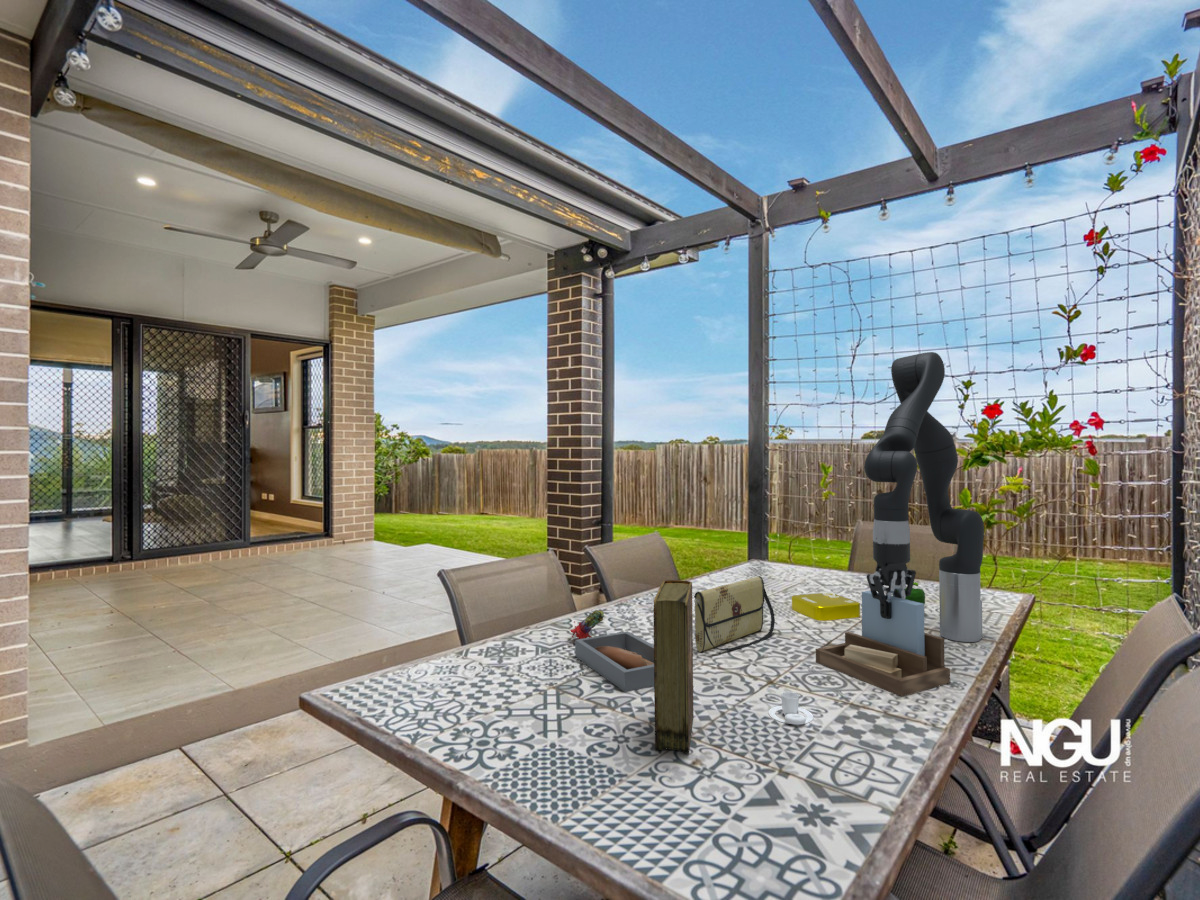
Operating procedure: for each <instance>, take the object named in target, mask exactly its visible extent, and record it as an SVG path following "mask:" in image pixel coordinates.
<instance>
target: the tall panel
mask: <svg viewBox="0 0 1200 900" xmlns="http://www.w3.org/2000/svg"><path fill="white" fill-rule="evenodd" d="M877 594H878V592H877ZM885 596H886V594H885ZM890 602H891V619H885V618H882V617H881V614H880V601H879V600H878V599H874V598H873V597H872V594H871V590H864V591H861V636H864V637H867V638H870V639H873V640H876V641H879V642H882V643H885V644H888V645H891V646H895V647H898V648H901V649H904V650H907V651H910V652H913V653H916V654H919V655H922V656H925V642H924V633H925V605H924V604H923V603H919V602H915V601H910V600H906V599H902V598H898V597H894V596H893V595H892V596H891V601H890Z"/></svg>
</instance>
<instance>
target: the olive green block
mask: <svg viewBox="0 0 1200 900" xmlns="http://www.w3.org/2000/svg"><path fill="white" fill-rule="evenodd" d="M693 618H694V617H693V581H689V580H680V579H678V580H677V579H674V580H673V579H671V580H670V579H669V580H663V581H662V582H661V584H660V585H659V588H658V591H657V592H656V595H655V597H654V599H653V645H654V686H653V687H654V688H653V689H654V690H653V691H654V695H653V696H654V700H653V701H654V702H653V703H654V750H655V751H656V752H658V751H663V750H673V751H680V752H682V753H685V754H690V749H691V741H692V734H693V731H692V730H693V723H694V644H693V643H694V638H693V637H694V636H693V635H694V633H693V630H694V629H693V621H694V620H693Z"/></svg>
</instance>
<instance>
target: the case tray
mask: <svg viewBox="0 0 1200 900" xmlns="http://www.w3.org/2000/svg"><path fill="white" fill-rule="evenodd" d="M574 643H575V645H574V647H575V653H574V654H575V657H576V658H577V659H579V661H581V662H582V663H584V664H585V665H587V666H588V667H589V668H591V669H592V670H593V671H595V672H596V673H597V674H599V675H601V676H602V677H603V678H605V679H606V680H607V681H609V682H610V683H612V684H613V685H615V686H616V687H617V688H618V689H620V690H622V691H623V692H624V693H627V692H631V691H637V690H642V689H646V688H649V687H654V664H653V665H648V666H643V667H638V668H633V669H628V670H627V669H625V668H624V667H622V666H620V665H619V664H617V663H616V662H614V661H613V660H611V659H610V658H608V657H607V656H605V655H604V654H602V653H600V652H599V651H597V650H596V649H595V648H597V647H599V646H610V647H617V648H621V649H624V650H627V651H631V652H634V653H637V654H638V655H642V658H644V659H646V660H648V661H650V662H653V663H654V644H653V643H650V642H649V641H646V640H645V639H643V638H641V637H639V636H637V635H635V634H634V633H631V632H629V631H621V632H616V633H610V634H603V635H597V636H596V635H595V636H591V637H590V638H589V637H587V638H584V639H578V638H577V639H574Z"/></svg>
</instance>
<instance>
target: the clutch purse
mask: <svg viewBox="0 0 1200 900" xmlns="http://www.w3.org/2000/svg"><path fill="white" fill-rule="evenodd" d="M693 598H694V600H693V601H694V612H695V613H694V626H695V627H694V631H695V632H694V633H695V635H694V637H695V638H694V639H695V647H696V650H697V651H698V652H699V653H702V652H704V651H708V650H710V649H713V648H715V649H716V650H717V651H718V650H719V651H725V652H726V651H729V652H730V651H734V650H737V649H742V648H745V647H750V646H753V645H755V644H758V643H760V641H761V642H762V641H765V640H766V639H768V638H769V637H771V635H772V634H773V632H774V629H775V623H776V622H775V621H776V620H775V619H776V618H775V611H774V608H773V606H772V604H771V601H770V599H769V596H768V593H767V591H766V589H765V582H764V580H763V578H762V576H761V575H758V576H754V577H751V578H746V579H743V580H740V581H735V582H732V583H728V584H724V585H720V586H717V587H712V588H709V589H706V590H705V589H704V590H701V591H696V592H695V593H694V595H693ZM765 602H766V605H767V607H768V610H769V613H770V628H769V629H768V630H769V631H768V632H767V633H766V634H765V635H764V636H762V637H760V638H759V639H757V640H754V641H752V642H748V643H745V644H741V645H736V646H734V647H728V648H720V647H719V646H720V645H723V644H726V643H729V642H732V641H735V640H737V639H741V638H742V637H746V636H747V635H751V634H753V633H757V632H760V631H762V629H763V625H764V603H765ZM752 644H753V645H752Z"/></svg>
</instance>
